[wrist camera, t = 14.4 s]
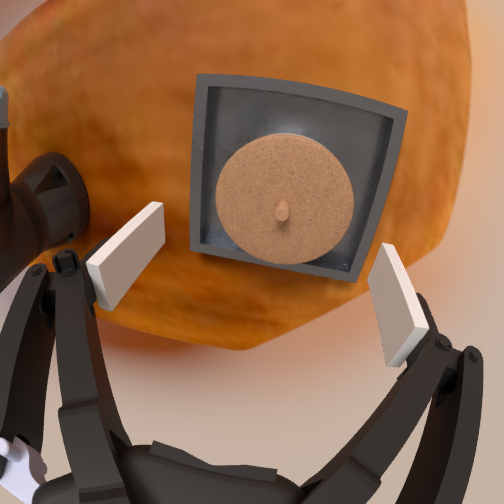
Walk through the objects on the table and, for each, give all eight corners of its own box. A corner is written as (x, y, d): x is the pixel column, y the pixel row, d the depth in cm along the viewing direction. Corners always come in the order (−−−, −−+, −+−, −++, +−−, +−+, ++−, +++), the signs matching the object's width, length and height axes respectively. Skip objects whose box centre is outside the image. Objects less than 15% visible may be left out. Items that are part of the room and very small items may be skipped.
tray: (198, 237, 34) (190, 250, 31) (207, 75, 23) (197, 73, 21) (352, 267, 32) (355, 282, 29) (397, 109, 21) (407, 111, 19)
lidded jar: (360, 155, 24) (385, 184, 16) (313, 240, 30) (313, 295, 22) (260, 108, 23) (236, 113, 16) (223, 200, 29) (192, 243, 22)
